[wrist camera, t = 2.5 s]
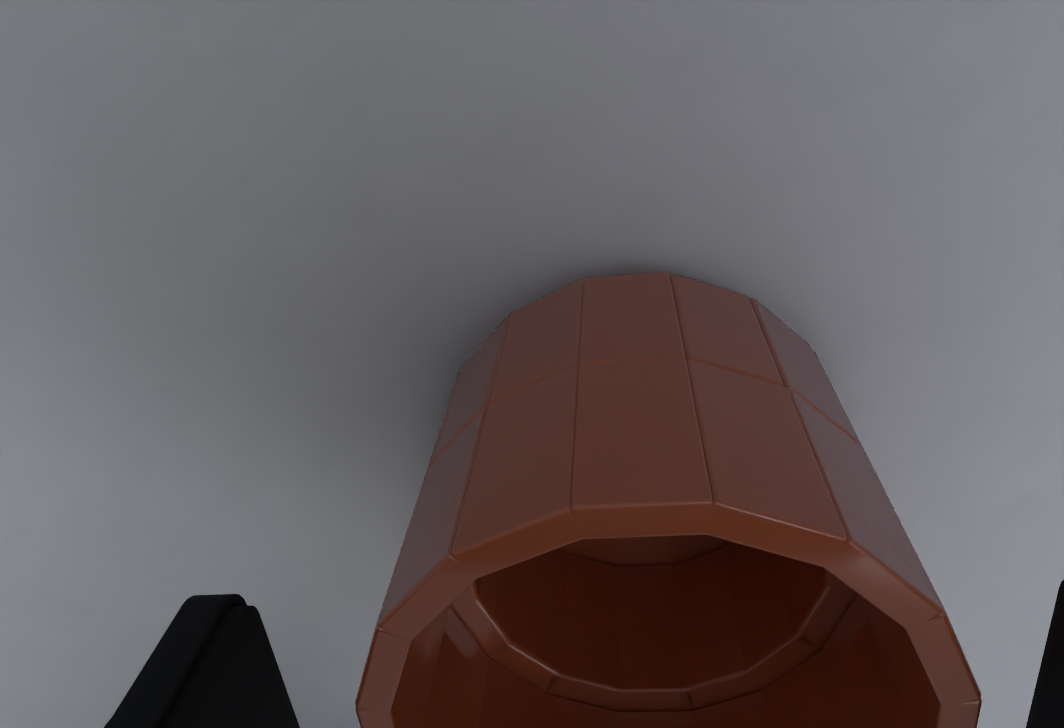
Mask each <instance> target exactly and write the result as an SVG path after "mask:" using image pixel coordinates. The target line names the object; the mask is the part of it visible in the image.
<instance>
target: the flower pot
mask: <svg viewBox="0 0 1064 728" xmlns="http://www.w3.org/2000/svg"><path fill="white" fill-rule="evenodd" d="M981 702H982V700H981V692H980V690H979V687H978V685H977V683H976V680H975V678H974V676H973V673H972V671H971V669H970V667H969V664H968V662H967V660H966V657H965V655H964V653H963V650H962V648H961V646H960V643H959V641H958V639H957V637H956V634H955V632H954V630H953V627H952V625H951V623H950V620H949V618H948V616H947V613H946V611H945V609H944V607H943V605H942V603H941V601H940V599H939V597H938V595H937V593H936V591H935V589H934V587H933V585H932V583H931V581H930V579H929V577H928V576H927V574H926V572H925V570H924V568H923V566H922V564H921V562H920V560H919V558H918V556H917V554H916V552H915V550H914V548H913V546H912V544H911V542H910V540H909V538H908V536H907V534H906V532H905V530H904V528H903V526H902V524H901V522H900V520H899V518H898V516H897V514H896V512H895V510H894V508H893V506H892V504H891V502H890V500H889V498H888V496H887V494H886V492H885V490H884V488H883V486H882V484H881V482H880V480H879V478H878V476H877V474H876V472H875V470H874V468H873V466H872V464H871V462H870V460H869V458H868V456H867V454H866V452H865V451H864V449H863V447H862V445H861V443H860V441H859V439H858V437H857V435H856V433H855V431H854V429H853V427H852V425H851V423H850V421H849V419H848V417H847V415H846V413H845V411H844V409H843V407H842V405H841V403H840V401H839V399H838V397H837V395H836V393H835V391H834V389H833V387H832V385H831V383H830V381H829V379H828V377H827V375H826V373H825V371H824V369H823V367H822V365H821V363H820V361H819V359H818V357H817V355H816V353H815V352H813V350H812V348H811V346H810V344H808V343H807V342H806V341H805V340H804V339H802V338H801V337H800V336H799V335H798V334H796V333H795V332H794V331H793V330H792V329H790V328H789V327H788V326H787V325H786V324H784V323H783V322H782V321H781V320H780V319H778V318H777V317H776V316H775V315H774V314H772V313H771V312H770V311H769V310H768V309H766V308H765V307H764V306H763V305H762V304H760V303H759V302H758V301H757V300H756V299H753V298H751V299H750V298H749V297H747V296H746V295H743V294H740V293H736V292H733V291H730V290H726V289H723V288H720V287H716V286H713V285H710V284H706V283H703V282H700V281H696V280H693V279H690V278H686V277H683V276H680V275H674V274H671V276H670V274H669V272H656V273H643V274H630V275H617V276H604V277H591V278H585V279H584V280H578V281H576V282H574V283H572V284H570V285H568V286H566V287H564V288H562V289H559V290H557V291H555V292H553V293H551V294H549V295H547V296H545V297H543V298H541V299H539V300H537V301H534V302H532V303H530V304H528V305H526V306H524V307H522V308H520V309H518V310H516V311H514V312H512V313H511V314H510V316H509V317H507V318H505V319H504V320H503V322H502V323H501V324H500V325H499V326H498V327H497V328H496V329H495V331H494V332H493V333H492V334H491V335H490V336H489V337H488V339H487V340H486V341H485V342H484V343H483V344H482V345H481V347H480V348H479V349H478V350H477V351H476V352H475V353H474V355H473V356H472V357H471V358H470V359H469V360H468V361H467V363H466V364H465V365H464V366H463V368H462V371H460V372H459V374H458V377H457V380H456V383H455V386H454V389H453V392H452V395H451V398H450V401H449V405H448V408H447V411H446V414H445V417H444V420H443V423H442V426H441V429H440V432H439V435H438V438H437V441H436V444H435V447H434V450H433V453H432V456H431V459H430V462H429V465H428V469H427V472H426V475H425V478H424V481H423V484H422V487H421V490H420V493H419V496H418V499H417V502H416V505H415V508H414V511H413V514H412V517H411V520H410V523H409V526H408V529H407V532H406V535H405V538H404V542H403V545H402V548H401V551H400V554H399V557H398V560H397V563H396V566H395V569H394V572H393V575H392V578H391V581H390V584H389V587H388V590H387V593H386V596H385V599H384V602H383V606H382V609H381V612H380V615H379V618H378V621H377V624H376V627H375V631H374V634H373V638H372V642H371V645H370V649H369V653H368V657H367V660H366V664H365V668H364V672H363V675H362V679H361V683H360V687H359V690H358V694H357V698H356V701H355V703H356V713H357V716H358V719H359V722H360V726H361V728H976V727H977V722H978V718H979V713H980V708H981Z"/></svg>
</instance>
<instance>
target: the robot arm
mask: <svg viewBox="0 0 1064 728" xmlns="http://www.w3.org/2000/svg"><path fill="white" fill-rule="evenodd" d="M104 728H300V727H299V724H298V721H297V718H296V716H295V713H294V710H293V707H292V704H291V701H290V699H289V696H288V693H287V690H286V687H285V684H284V682H283V679H282V676H281V673H280V670H279V668H278V665H277V662H276V659H275V656H274V653H273V651H272V648H271V645H270V642H269V639H268V636H267V634H266V631H265V628H264V625H263V622H262V620H261V617H260V614H259V612H258V610H257V608H256V607H254V606H247V604H246V602H245V600H244V598H243V597H241V596H240V595H239V594H224V595H195V596H192V597H190V598H188V599H187V600H186V601H185V603H184V604H183V605H182V606H181V608H180V610H179V611H178V613H177V614H176V616H175V618H174V619H173V621H172V622H171V624H170V626H169V627H168V629H167V630H166V632H165V634H164V635H163V637H162V638H161V640H160V642H159V643H158V645H157V646H156V648H155V650H154V651H153V653H152V654H151V656H150V658H149V659H148V661H147V662H146V664H145V665H144V667H143V669H142V670H141V672H140V673H139V675H138V677H137V678H136V680H135V681H134V683H133V685H132V686H131V688H130V689H129V691H128V693H127V694H126V696H125V697H124V699H123V701H122V702H121V704H120V705H119V707H118V709H117V710H116V712H115V713H114V715H113V717H112V718H111V719H110V720H109V722H108V723H107V724H106V725H105V727H104ZM1026 728H1064V580H1063V581H1062V582H1061V584H1060V587H1059V591H1058V595H1057V599H1056V603H1055V608H1054V612H1053V616H1052V620H1051V624H1050V629H1049V633H1048V637H1047V641H1046V645H1045V650H1044V654H1043V658H1042V662H1041V667H1040V671H1039V675H1038V679H1037V683H1036V688H1035V692H1034V696H1033V700H1032V704H1031V709H1030V713H1029V717H1028V721H1027V726H1026Z"/></svg>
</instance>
